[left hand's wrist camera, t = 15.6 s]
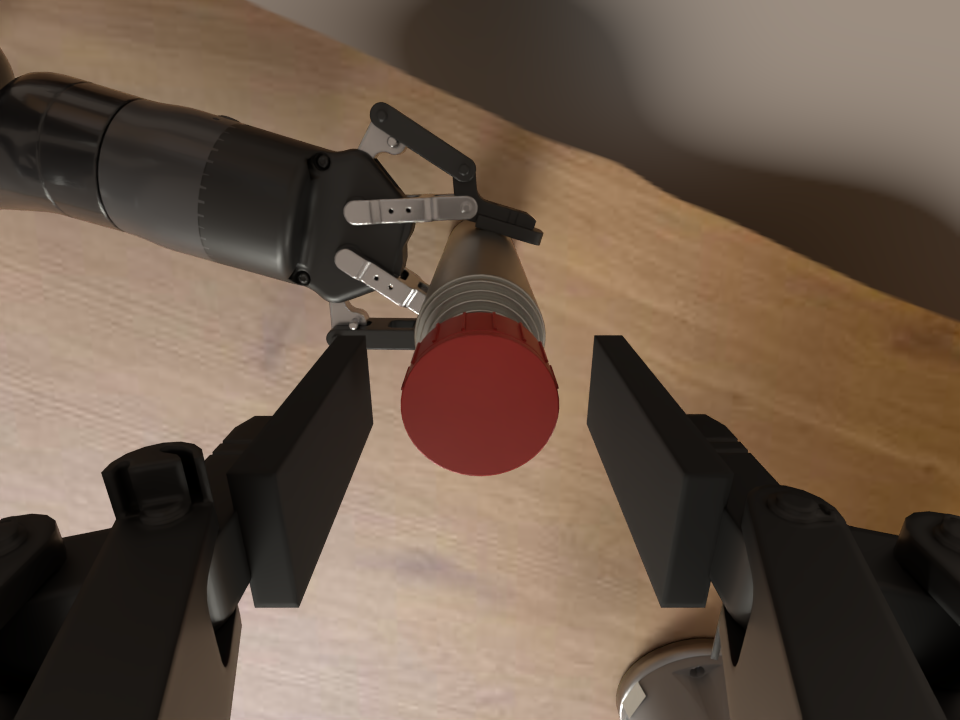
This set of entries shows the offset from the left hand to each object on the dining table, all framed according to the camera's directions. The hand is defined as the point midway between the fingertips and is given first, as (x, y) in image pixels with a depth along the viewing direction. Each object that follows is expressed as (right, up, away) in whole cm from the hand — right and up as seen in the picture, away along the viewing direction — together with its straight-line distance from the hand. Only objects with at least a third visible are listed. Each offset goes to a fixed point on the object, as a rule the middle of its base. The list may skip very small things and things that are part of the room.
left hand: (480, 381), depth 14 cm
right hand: (+3, +5, +15) cm, 16 cm away
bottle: (0, +8, +21) cm, 22 cm away
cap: (0, -1, -1) cm, 1 cm away
